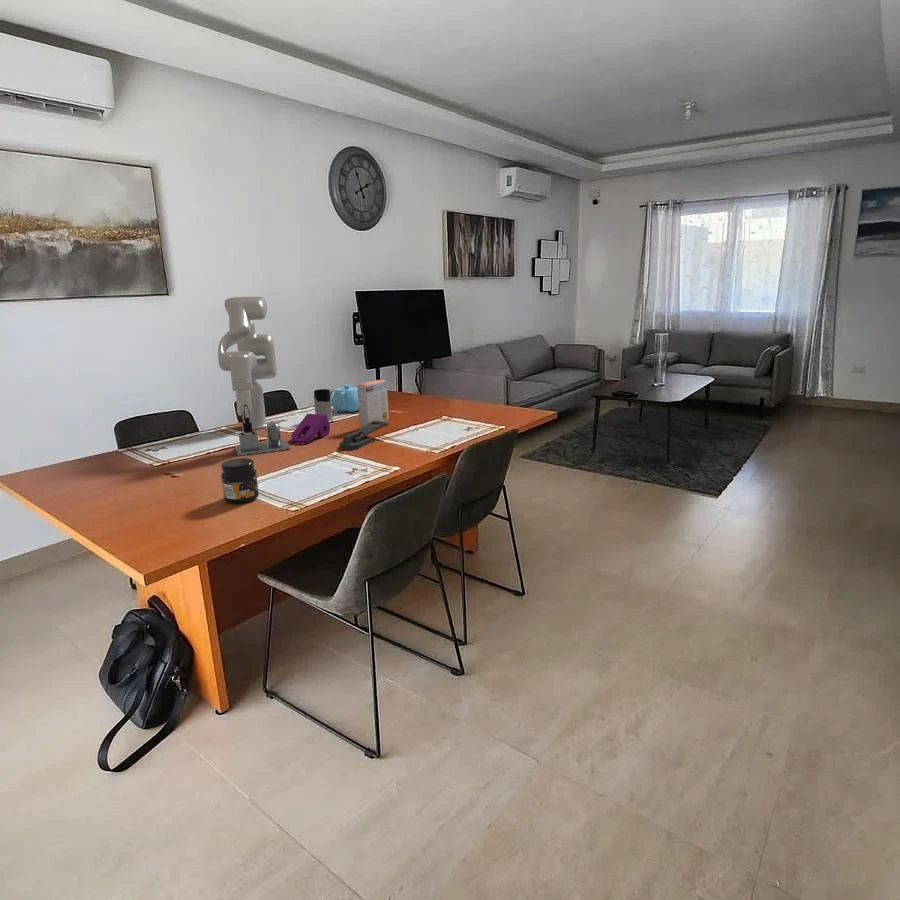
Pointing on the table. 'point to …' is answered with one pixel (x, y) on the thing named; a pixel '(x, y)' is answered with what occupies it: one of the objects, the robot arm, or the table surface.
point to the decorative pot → (345, 399)
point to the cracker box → (373, 402)
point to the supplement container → (239, 480)
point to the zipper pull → (361, 436)
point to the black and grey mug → (324, 403)
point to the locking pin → (246, 433)
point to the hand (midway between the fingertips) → (247, 430)
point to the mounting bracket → (311, 428)
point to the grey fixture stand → (252, 446)
